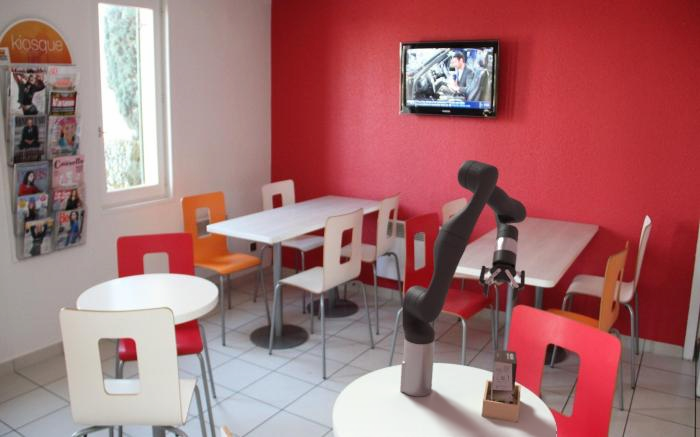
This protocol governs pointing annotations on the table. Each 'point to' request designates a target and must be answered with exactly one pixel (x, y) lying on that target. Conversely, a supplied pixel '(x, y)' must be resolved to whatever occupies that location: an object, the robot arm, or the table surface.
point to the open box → (501, 405)
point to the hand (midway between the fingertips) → (499, 298)
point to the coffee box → (504, 376)
